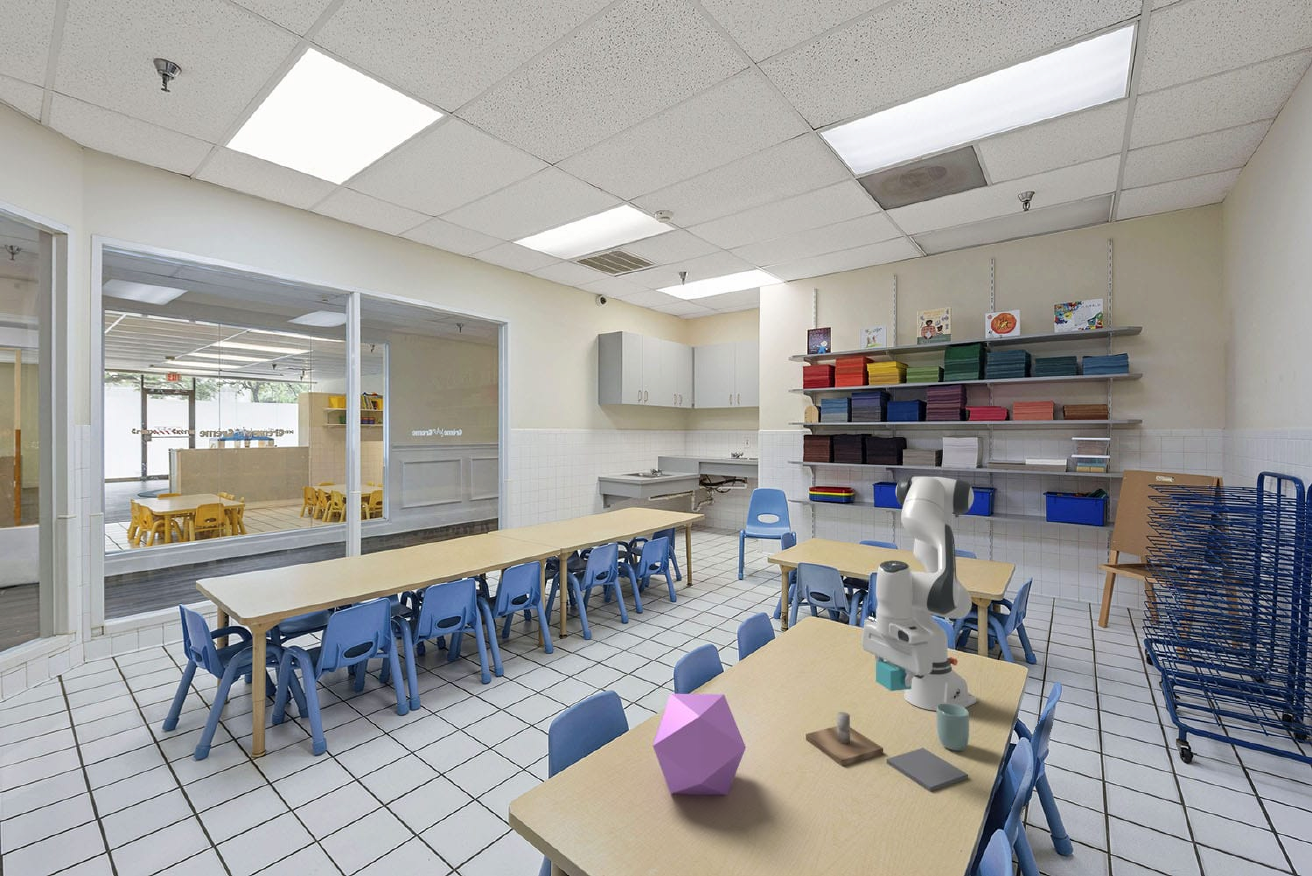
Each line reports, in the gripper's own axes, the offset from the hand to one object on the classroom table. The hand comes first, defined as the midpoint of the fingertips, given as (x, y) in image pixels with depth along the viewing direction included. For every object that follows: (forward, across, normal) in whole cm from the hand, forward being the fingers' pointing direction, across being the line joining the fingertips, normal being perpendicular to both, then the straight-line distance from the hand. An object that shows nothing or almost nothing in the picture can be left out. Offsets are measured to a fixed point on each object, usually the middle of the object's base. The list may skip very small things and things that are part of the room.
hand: (894, 679), depth 143 cm
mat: (+21, +6, +4) cm, 22 cm away
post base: (+21, -11, -7) cm, 25 cm away
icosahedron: (+21, -11, -51) cm, 57 cm away
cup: (+21, +1, +20) cm, 29 cm away
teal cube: (+1, 0, 0) cm, 1 cm away
